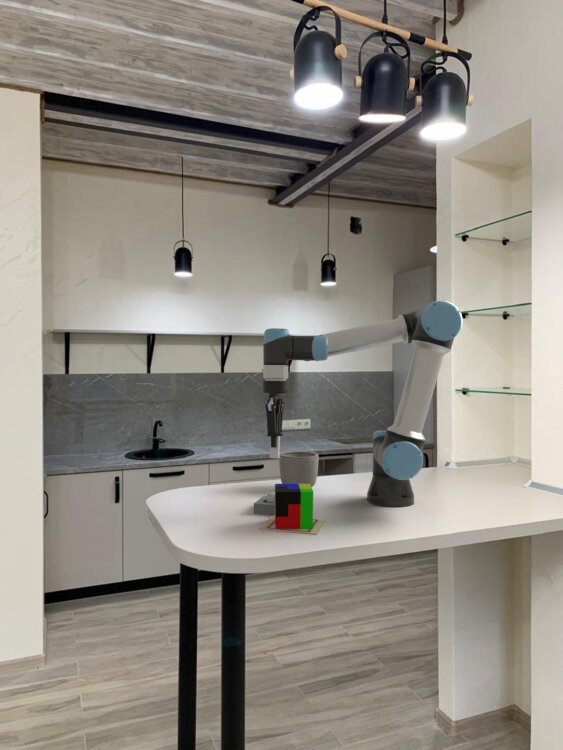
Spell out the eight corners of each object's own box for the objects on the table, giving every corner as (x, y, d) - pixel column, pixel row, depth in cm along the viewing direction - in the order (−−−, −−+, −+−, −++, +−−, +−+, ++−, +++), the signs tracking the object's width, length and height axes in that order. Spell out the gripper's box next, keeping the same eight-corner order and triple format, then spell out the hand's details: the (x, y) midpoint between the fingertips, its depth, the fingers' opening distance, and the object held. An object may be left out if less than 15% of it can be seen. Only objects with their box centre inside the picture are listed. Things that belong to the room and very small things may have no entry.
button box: (294, 507, 170) (294, 497, 170) (286, 516, 160) (286, 505, 160) (263, 505, 172) (263, 495, 172) (253, 513, 163) (253, 503, 163)
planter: (272, 493, 188) (272, 455, 188) (287, 485, 201) (287, 449, 201) (310, 497, 183) (311, 458, 183) (323, 488, 196) (323, 452, 196)
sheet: (325, 520, 156) (325, 519, 155) (316, 534, 143) (316, 533, 143) (271, 516, 160) (271, 515, 160) (258, 529, 147) (258, 528, 147)
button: (284, 503, 168) (284, 492, 168) (280, 507, 163) (280, 496, 163) (269, 502, 169) (269, 491, 169) (264, 506, 164) (264, 495, 164)
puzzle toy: (274, 518, 156) (275, 483, 156) (309, 518, 157) (310, 483, 157) (275, 529, 146) (275, 491, 146) (312, 529, 147) (313, 491, 147)
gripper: (269, 379, 173) (268, 453, 173) (257, 380, 160) (256, 460, 161) (292, 379, 171) (291, 455, 171) (281, 380, 158) (280, 462, 159)
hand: (274, 457), depth 166 cm, fingers closed
